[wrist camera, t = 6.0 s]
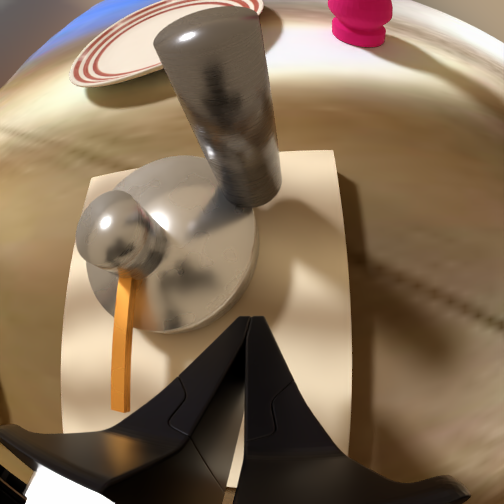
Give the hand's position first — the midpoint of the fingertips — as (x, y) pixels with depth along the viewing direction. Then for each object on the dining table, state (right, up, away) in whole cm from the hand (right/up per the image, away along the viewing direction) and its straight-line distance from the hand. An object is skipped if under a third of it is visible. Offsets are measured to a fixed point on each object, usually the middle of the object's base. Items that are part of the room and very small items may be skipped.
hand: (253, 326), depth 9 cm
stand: (-4, -1, +8) cm, 9 cm away
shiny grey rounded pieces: (-4, +2, +7) cm, 8 cm away
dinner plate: (-12, +31, +21) cm, 40 cm away
